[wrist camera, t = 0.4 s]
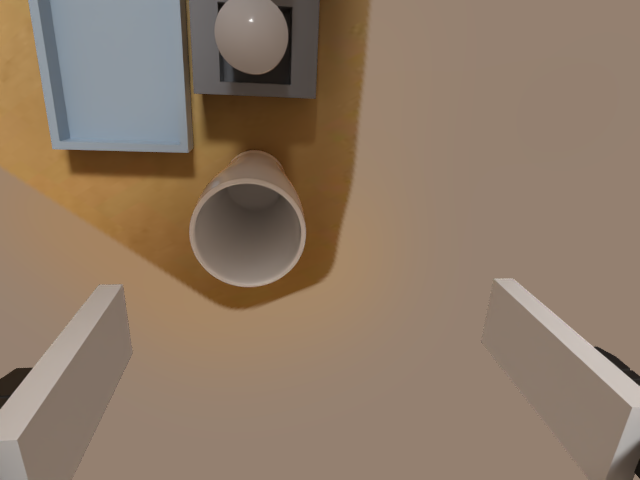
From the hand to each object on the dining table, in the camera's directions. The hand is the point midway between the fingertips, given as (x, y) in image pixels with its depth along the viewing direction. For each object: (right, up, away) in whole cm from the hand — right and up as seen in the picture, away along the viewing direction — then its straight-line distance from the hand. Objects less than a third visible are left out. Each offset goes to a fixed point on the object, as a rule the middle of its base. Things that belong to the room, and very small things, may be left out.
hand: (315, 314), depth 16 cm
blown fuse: (-5, +18, +19) cm, 26 cm away
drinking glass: (-6, +8, +23) cm, 25 cm away
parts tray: (-15, +17, +19) cm, 30 cm away
